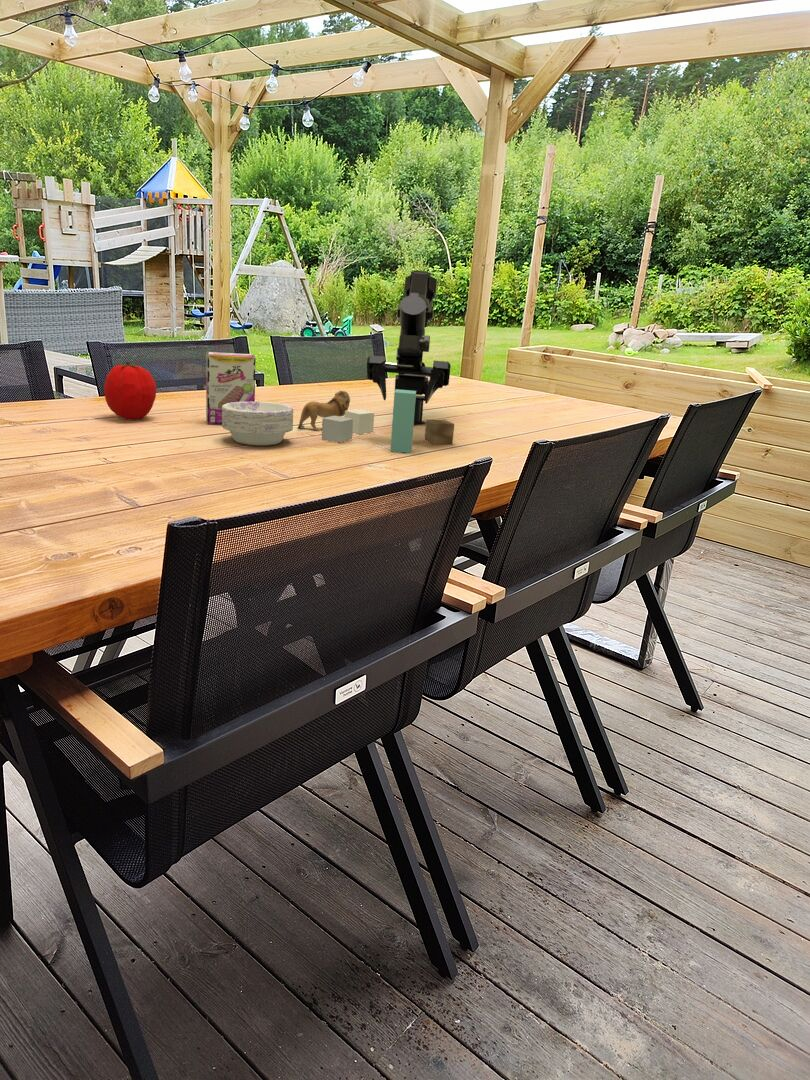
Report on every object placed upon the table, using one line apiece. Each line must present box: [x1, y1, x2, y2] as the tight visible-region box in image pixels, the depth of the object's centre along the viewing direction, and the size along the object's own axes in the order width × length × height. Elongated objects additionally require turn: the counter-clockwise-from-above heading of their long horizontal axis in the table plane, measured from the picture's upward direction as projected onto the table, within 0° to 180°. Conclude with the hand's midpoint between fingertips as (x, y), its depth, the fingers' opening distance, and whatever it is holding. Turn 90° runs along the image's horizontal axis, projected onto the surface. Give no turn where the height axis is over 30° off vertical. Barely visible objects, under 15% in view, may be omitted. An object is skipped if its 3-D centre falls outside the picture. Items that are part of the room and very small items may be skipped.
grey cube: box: [321, 416, 353, 444], centre depth 175 cm, size 5×5×5 cm
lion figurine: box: [296, 390, 351, 432], centre depth 185 cm, size 15×5×9 cm, turn 130°
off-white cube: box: [344, 408, 375, 435], centre depth 185 cm, size 5×5×5 cm
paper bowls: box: [221, 401, 294, 447], centre depth 167 cm, size 15×15×8 cm
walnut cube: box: [424, 419, 455, 446], centre depth 181 cm, size 5×5×5 cm
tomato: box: [103, 361, 158, 421], centre depth 179 cm, size 12×12×13 cm
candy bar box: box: [205, 351, 256, 425], centre depth 182 cm, size 11×5×16 cm, turn 108°
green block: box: [390, 389, 416, 454], centre depth 168 cm, size 4×4×13 cm
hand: (405, 400), depth 170 cm, fingers open, 9 cm apart
